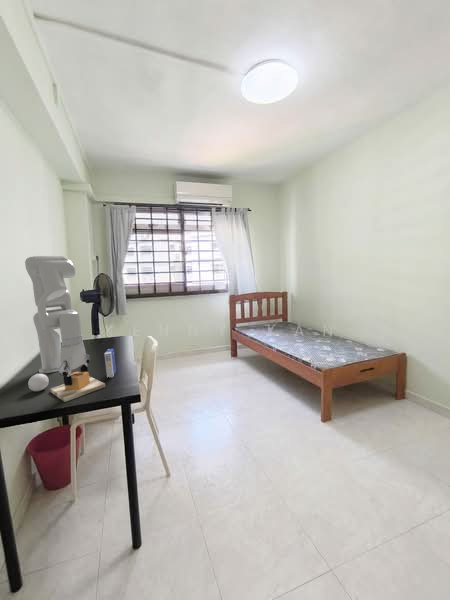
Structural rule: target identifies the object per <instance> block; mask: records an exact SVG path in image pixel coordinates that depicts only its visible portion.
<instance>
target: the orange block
mask: <svg viewBox="0 0 450 600" xmlns="http://www.w3.org/2000/svg"><path fill="white" fill-rule="evenodd" d="M74 375H79V376H74ZM70 376H71V377H72V385H71V386H65V389H75V390H79V389H81V388H83V387H84V386H86V385H87V384H89V383H90V379H89V376H90V372H89V371H88V372H81V371H74V372H71V374H70Z"/></svg>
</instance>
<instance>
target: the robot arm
mask: <svg viewBox="0 0 450 600" xmlns="http://www.w3.org/2000/svg"><path fill="white" fill-rule="evenodd" d="M24 265H25V270H26V272H27V274H28V276H29V278H30V280H31V283H32V289H33V290H32V291H33V297H34V302H35V306H36V307H37V312H36V313H34V315H33V317H32V319H33V323H34V327H35V330H36V333H37V339H38V340H37V341H38V346H39V354H40V360H41V367H40V368H39V369H38V373H39V374H51V373H56V372H58V373H59V375H60V376H61V377H63V382H64V383H63V384H64V385H65V386H71V385H72V377H71V376H70V374H72V371H74V370H76V369H78V368H80V369H79V370H80V372H89V369H88V367H89V363H90V357H91V356H90V354H87V352H86V348H85V344H84V342H83V334H82V333H83V332H82V325H81V319H80V317H81V316H80V313H79V312H77V311H76V309H75V310H74V309H73V307H72V297H71V293H70V291H69V289H67V285H66V282H65V279H72V278H74V277H75V275H76V267H75V265H74V263H73V262H72V261H71V259H69V258H67V257H65V256H63V255H62V256H60V255H54V256H53V255H51V256H50V255H36V256H29V257H27V258H26V259H25V260H24ZM57 307H60V308H57ZM49 308H56V309H49ZM47 309H48V310H47ZM56 330H60V333H59V332H57V331H56Z"/></svg>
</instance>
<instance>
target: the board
mask: <svg viewBox="0 0 450 600" xmlns="http://www.w3.org/2000/svg"><path fill="white" fill-rule="evenodd" d="M74 376H79V375H74ZM89 379H90V383H89V384H87V385H86V386H84V387H83V388H81V389H79V390H75V389H65V385H64V383H62V384H60V385H57V386H53V387H50V388H49V390H50V393H52V394H53V395H54V396H55V397H57V398H58V399H60V400H61V401H63V402H64V403H66V402H69V401H71V400H74V399H77V398H80V397H82V396H85V395H87V394H90V393H93V392H96V391H98V390H101V389H104V388H105V387H106V383H105V382H102V381H100V380H99V379H96V378H94V377H93V376H91V375H89Z"/></svg>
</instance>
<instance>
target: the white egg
mask: <svg viewBox="0 0 450 600" xmlns="http://www.w3.org/2000/svg"><path fill="white" fill-rule="evenodd" d="M49 381H50V380H49V377H48V376H47V374H45V373H36V374H34V375H31V377H30V378H29V379H28V381H27V382H28V383H27V386H28V388H29V389H30V390H31V391H33V392H40V391H44V389H46V388H47V386H48V385H49Z"/></svg>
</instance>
